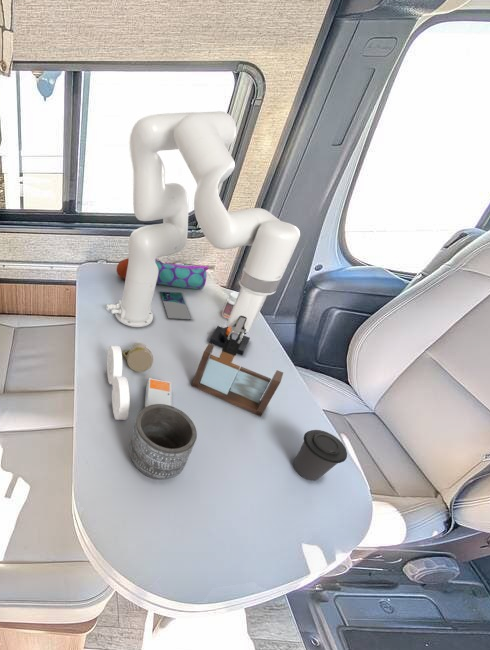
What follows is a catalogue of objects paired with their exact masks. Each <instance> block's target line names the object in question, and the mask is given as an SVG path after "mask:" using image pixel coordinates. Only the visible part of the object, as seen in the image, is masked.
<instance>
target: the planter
mask: <svg viewBox="0 0 490 650" xmlns="http://www.w3.org/2000/svg"><path fill="white" fill-rule="evenodd" d="M133 426H134V427H133V429H132V434H131V437H130V441H129V445H128V452H129V457H130V459H131V461H132V463H133V465H134V466H135V467H136V468H137V470H138V471H139V472H140V473H141V474H143V475H144V476H145V477H147V478H149V479H153V480H159V481H161V480H169V479H172V478H175V477H176V476H179V475H180V474H181V473H182V472H183V471H184V469H185V467H186V465H187V462H188V460H189V458H190V455H191V453H192V450H193V448H194V445H195V444H196V441H197V437H198V433H197V432H198V431H197V428H196V425H195V423H194V422H193V420H192V419H191V418H190V416H188V415H187V414H186V413H185V412H184V411H183V410H181V409H179V408H177V407H175V406H172V405H171V406H169V405H165V404H154V405H149V406H147V407H145V406H144V407H143V408H142V409H141V410H140V411H139V412H138V414H137V416H136V419H135V423H134V425H133Z"/></svg>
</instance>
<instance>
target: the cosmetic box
mask: <svg viewBox="0 0 490 650" xmlns="http://www.w3.org/2000/svg"><path fill="white" fill-rule="evenodd" d="M172 384H173V383H172V381H167V380H161V379H156V378H152V377H148V380H147V384H146V387H145V398H144V408H145V407H147V406H149V405H154V404H165V405H169V406H172V402H173V401H172V398H173V397H172V391H173V390H172V387H173V385H172Z"/></svg>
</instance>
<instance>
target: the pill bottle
mask: <svg viewBox="0 0 490 650" xmlns="http://www.w3.org/2000/svg"><path fill="white" fill-rule="evenodd" d="M238 294H239V292H237V291H232V292H229V295H228V297H227V298H226V299H225V302H224V305H223V308H222V310H221V316H222V318H224V319H227V320H228V319H229V316H230V314H231V311H232V309H233V306H234V304H235V301H236V299H237V296H238Z"/></svg>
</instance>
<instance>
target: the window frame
mask: <svg viewBox="0 0 490 650" xmlns="http://www.w3.org/2000/svg"><path fill="white" fill-rule="evenodd" d="M214 348H215V345H214V344H211V343H208V344H207V346H206V347H205V348H204V351H203V353H202V356H201V358H200V361H199V364H198V366H197V369H196V371H195V375H194V376H193V377H194V378H193V380H192V382H191V387H193V388H195V389H198V390H199V391H203V392H204V393H207V394H209V395H211V396H213V397H216V398H218V399H221V400H222V401H225V402H227V403H228V404H231V405H233V406H236V407H238V408H240V409H242V410H245V411H247V412H249V413H251V414H254V415H256V416H258V417H262V416H263V414H264V412H265V411H266V409H267V407H268V405H269V403H270V402H271V400H272V398H273V397H274V395H275V393H276V391H277V390H278V388H279V386H280V384H281V382H282V379H283V376H284V372H283V371H281V370H276V371H275V373H274V374H273V376H272V378H271V377H268V376H266V375H263V374H261V373H258V372H256V371H253V370H251V369H248V368H247V367H244V366H240V368H239V370H238V372H237V374H236V376H235V379H234V381H233V383H232V385H231V387H230V389H229V392H228V394H224V393H222V392H220V391H217V390H215V389H213V388H211V387H208V386H206V385H204V384H202V383H200V381H201V379H202V376H203V374H204V371H205V368H206V366H207V363H208V361H209V358H210V356H211V355H212V353H213V351H214Z"/></svg>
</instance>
